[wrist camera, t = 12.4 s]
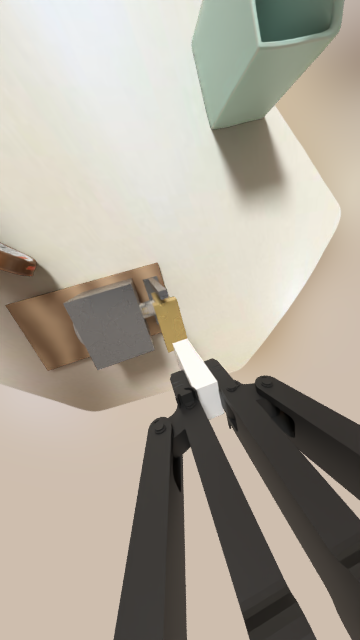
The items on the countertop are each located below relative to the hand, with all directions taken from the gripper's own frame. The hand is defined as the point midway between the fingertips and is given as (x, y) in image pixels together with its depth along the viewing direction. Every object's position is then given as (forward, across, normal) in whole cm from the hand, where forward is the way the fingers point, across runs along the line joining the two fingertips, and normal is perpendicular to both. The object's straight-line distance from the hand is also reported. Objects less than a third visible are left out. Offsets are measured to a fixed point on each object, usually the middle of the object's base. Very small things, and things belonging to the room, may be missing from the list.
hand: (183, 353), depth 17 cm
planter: (+25, +22, +31) cm, 45 cm away
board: (+25, -12, 0) cm, 27 cm away
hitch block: (+24, -6, 0) cm, 24 cm away
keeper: (+15, 0, 0) cm, 15 cm away
